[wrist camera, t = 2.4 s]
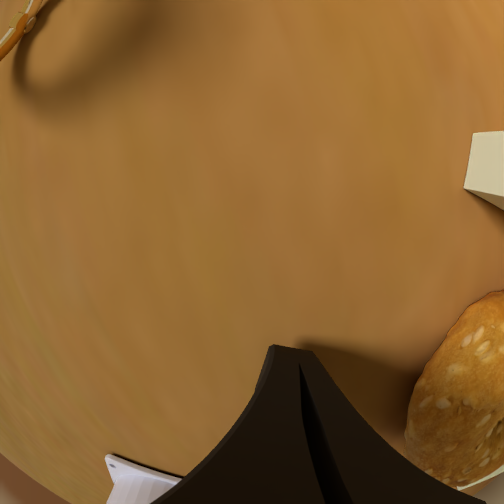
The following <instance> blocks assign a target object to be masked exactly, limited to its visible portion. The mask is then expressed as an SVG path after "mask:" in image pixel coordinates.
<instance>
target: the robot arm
mask: <svg viewBox="0 0 504 504" xmlns="http://www.w3.org/2000/svg"><path fill="white" fill-rule="evenodd" d="M105 461H106V464H107V467H108V469H109V472H110V475H111V477H112V480H113V482H114V487H113V489H112V492H111V494H110V496H109V498H108V501H107V503H106V504H486V502H485V501H482V500H480V499H477V498H475V497H472V496H470V495H467V494H465V493H463V492H460V491H458V490H456V489H453V488H451V487H450V486H448V485H446V484H444V483H442V482H440V481H439V480H437V479H435V478H433V477H432V476H430V475H429V474H427V473H426V472H424V471H422V470H421V469H419V468H418V467H417V466H415V465H414V464H413V463H411V462H410V461H409V460H407V459H406V458H405V457H403V456H402V455H401V454H400V453H398V452H397V451H396V450H395V449H394V448H392V447H391V446H390V445H389V444H388V443H387V442H386V441H385V440H384V439H383V438H382V437H381V436H380V435H379V434H377V433H376V432H375V431H374V430H373V429H372V427H371V426H370V425H369V424H368V423H367V422H366V421H365V420H364V419H363V418H362V416H361V415H360V414H359V413H358V412H357V411H356V410H355V408H354V407H353V406H352V405H351V403H350V402H349V401H348V400H347V398H346V397H345V396H344V394H343V393H342V392H341V391H340V389H339V388H338V386H337V385H336V384H335V382H334V381H333V380H332V378H331V377H330V375H329V374H328V372H327V371H326V370H325V368H324V367H323V365H322V364H321V362H320V361H319V360H318V358H317V357H316V355H315V354H314V353H313V351H307V350H301V349H296V348H290V347H285V346H280V345H275V344H273V345H271V346H269V349H268V352H267V355H266V358H265V361H264V364H263V367H262V370H261V373H260V376H259V379H258V382H257V385H256V388H255V393H254V394H253V396H252V398H251V400H250V401H249V403H248V405H247V406H246V408H245V409H244V411H243V412H242V414H241V415H240V417H239V418H238V420H237V421H236V422H235V424H234V425H233V426H232V428H231V429H230V430H229V432H228V433H227V434H226V435H225V436H224V438H223V439H222V440H221V441H220V442H219V443H218V445H217V446H216V447H215V448H214V449H213V450H212V451H211V452H210V453H209V454H208V455H207V457H206V458H205V459H204V460H203V461H201V462H200V463H199V464H198V465H197V466H196V467H195V468H194V469H193V470H192V471H191V472H190V473H188V474H187V475H186V476H185V477H184V478H183V479H181V478H177V477H174V476H170V475H167V474H163V473H160V472H157V471H154V470H151V469H148V468H145V467H142V466H139V465H137V464H134V463H131V462H129V461H126V460H124V459H121V458H119V457H116V456H114V455H111V454H107V455H106V457H105Z"/></svg>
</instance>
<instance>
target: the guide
mask: <svg viewBox="0 0 504 504" xmlns="http://www.w3.org/2000/svg"><path fill="white" fill-rule="evenodd" d="M464 189H466V190H468V191H470V192H472V193H474V194H475V195H477V196H479V197H481V198H483V199H485V200H486V201H488V202H490V203H492V204H494V205H495V206H497V207H499V208H500V209H502V210H504V131H494V132H481V133H473V137H472V144H471V151H470V157H469V163H468V169H467V174H466V179H465V184H464ZM502 472H504V465H502V466H501V467H500V468H498V469H497V470H496V471H494V472H493V473H491V474H490V475H488V476H486V477H484V478H482V479H480V480H478V481H476V482H474V483H471V484H469V485H467V486H464V487H458V486H457V488H458V491H459V490H461V489H464V488H467V487H470V486H472V485H475V484H477V483H480V482H482V481H484V480H487V479H489V478H491V477H494V476H496V475H498V474H500V473H502Z"/></svg>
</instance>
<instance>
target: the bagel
mask: <svg viewBox="0 0 504 504" xmlns="http://www.w3.org/2000/svg"><path fill="white" fill-rule="evenodd" d="M404 437H405V439H406V443H405V450H404V455H405V457H406V459H407V460H409V461H410V462H411V463H413V464H414V465H415V466H417V467H418V468H419V469H421V470H422V471H424V472H426V473H427V474H429V475H430V476H432V477H433V478H435V479H437V480H439V481H440V482H442V483H444V484H446V485H448V486H450V487H457V486H458V487H464V486H467V485H469V484H471V483H474V482H476V481H478V480H480V479H482V478H484V477H486V476H488V475H490V474H491V473H493V472H494V471H496V470H497V469H498V468H500V467H501V466H502V465H504V290H502V291H501V292H491V293H489V294H488V295H486V296H485V297H484V298H482V299H481V300H479V301H477V302H476V303H474V304H472V305H470V306H469V307H467V308H466V310H465V311H464V312H463V314H462V315H461V316H460V317H459V319H458V321H457V323H456V324H455V325H454V326H452V327H451V329H450V330H449V331H448V333H447V335H446V338H445V340H444V341H443V342H442V344H441V345H440V347H439V348H438V349H437V350H436V351H435V353H434V354H433V356H432V358H431V359H430V360H429V361H428V362H427V363H426V365H425V367H424V370H423V374H422V375H421V376H420V377H419V379H418V381H417V383H416V385H415V386H414V391H413V394H412V396H411V400H410V403H409V408H408V416H407V427H406V430H405V432H404Z"/></svg>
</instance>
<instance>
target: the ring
mask: <svg viewBox="0 0 504 504" xmlns="http://www.w3.org/2000/svg"><path fill="white" fill-rule="evenodd" d="M42 1H43V0H26V1H25V3H24V6H23V8H22V10H21V12H18V13H16V14H15V15H14V16H13V18H12V19H11V21H10V24H9V27H10V30H9V31H8V32H7V33H6V35H5V36H4V37H3V38H2V40H1V41H0V61H1V60H2V59H3V58H4V57H5V56H6V55H7V54H8V53H9V52H10V51H11V50H12V48H13V47H14V46H15V45H16V44H17V42H18V41H19V40H20V39H21V37H22V36H23V35H24V33H28V32H29V31H30V30H31V29H32V28H33V26H34V24H35V22H36V17H35V16H36V14H37V12H38V10H39V8H40V6H41V4H42Z"/></svg>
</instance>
